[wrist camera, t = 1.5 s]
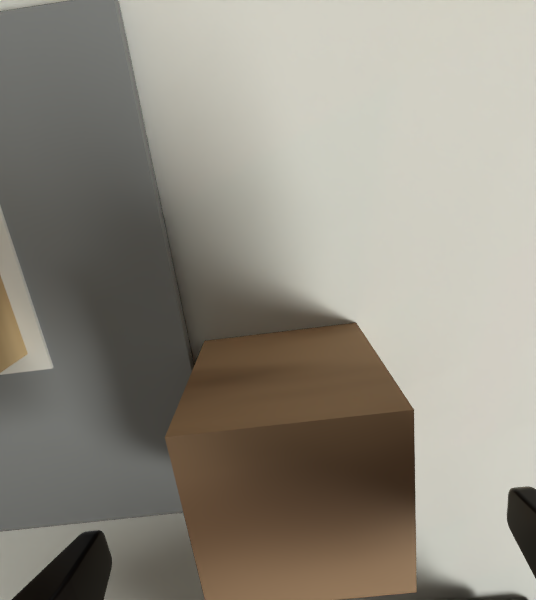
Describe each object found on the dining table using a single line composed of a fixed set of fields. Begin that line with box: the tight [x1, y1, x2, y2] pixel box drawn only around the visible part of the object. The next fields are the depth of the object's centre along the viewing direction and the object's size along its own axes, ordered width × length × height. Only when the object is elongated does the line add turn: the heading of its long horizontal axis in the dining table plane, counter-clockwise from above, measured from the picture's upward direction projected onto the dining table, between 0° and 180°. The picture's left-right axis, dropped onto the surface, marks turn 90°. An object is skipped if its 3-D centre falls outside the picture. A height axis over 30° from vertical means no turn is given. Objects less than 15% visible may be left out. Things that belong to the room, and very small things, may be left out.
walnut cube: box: [165, 323, 417, 600], centre depth 10 cm, size 5×5×5 cm
